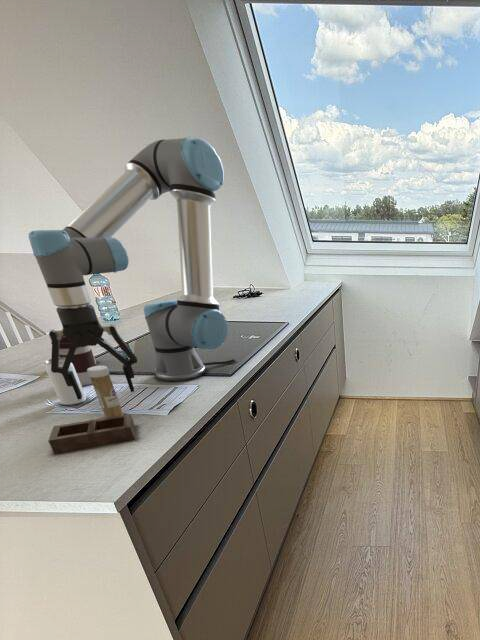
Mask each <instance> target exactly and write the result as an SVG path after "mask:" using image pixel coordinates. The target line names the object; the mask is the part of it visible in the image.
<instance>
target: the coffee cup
mask: <svg viewBox="0 0 480 640" xmlns="http://www.w3.org/2000/svg"><path fill="white" fill-rule="evenodd" d="M71 343H72V341H71V340H70V339H68V338H67V337H66V336H64V335H62V339H61V340H59V358H66V356H67V354H68V351H69V348H70V346H71ZM50 344H52V341H50ZM94 357H95V355H94V353H93V349H92V348H91V346H89V345H88V346H85V347H81V346H78V345H77V348H76V351H75V353H74V356H73V358H72V361H71V363H72V364H73V366H74V368H75V371H76V373H77V376H78V378H79V381H80V383H81V386H88V385H89V386H90V385H93V383H92V381H91V378H90V377H89V375H88V372H87V369H88V368H90V367H94V366H97V362H96V363H95V360H96V359H95V360H94Z"/></svg>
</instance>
